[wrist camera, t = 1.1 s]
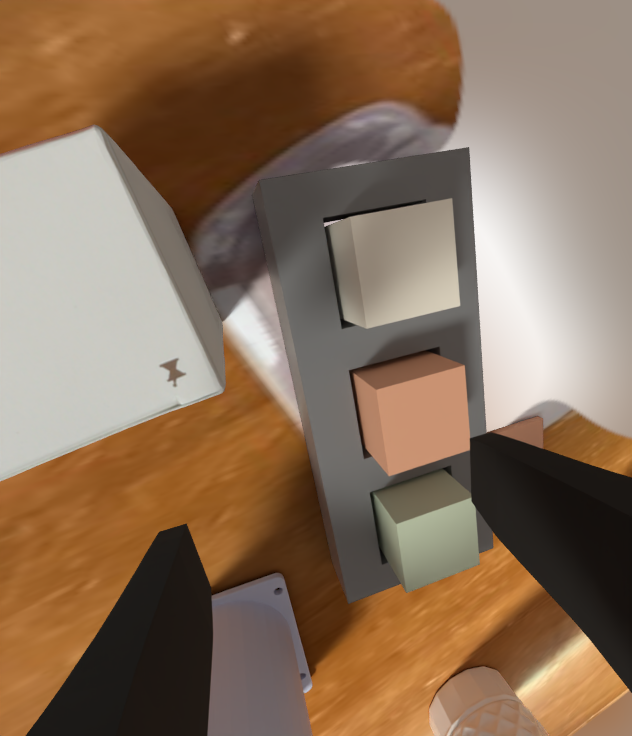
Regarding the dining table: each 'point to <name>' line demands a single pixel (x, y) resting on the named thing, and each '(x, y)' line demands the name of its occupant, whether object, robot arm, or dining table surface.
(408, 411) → the key terracotta
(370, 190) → the keypad
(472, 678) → the white cup
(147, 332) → the small box
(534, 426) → the tile
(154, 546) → the robot arm
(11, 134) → the dining table surface
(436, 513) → the key sage
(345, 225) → the key cream
